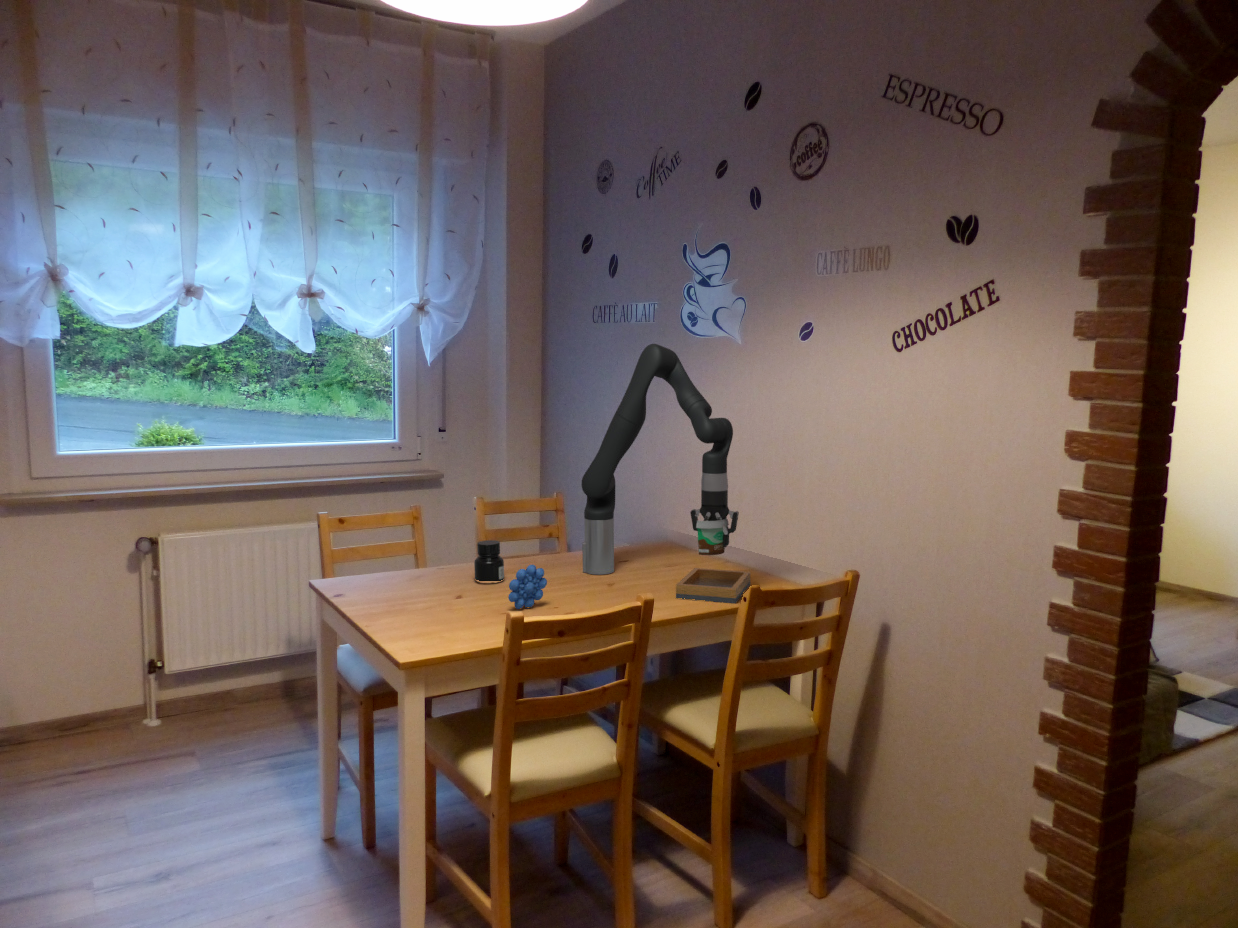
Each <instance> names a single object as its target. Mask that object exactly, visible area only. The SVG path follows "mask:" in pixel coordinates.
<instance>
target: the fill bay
mask: <svg viewBox="0 0 1238 928" xmlns="http://www.w3.org/2000/svg"><path fill="white" fill-rule="evenodd" d="M749 587H751V571H743V570H731V569H729V570H728V569H716V568H715V569H714V568H713V569H712V568H699V567H694V568H693V569H691V570H690V572H689V571H688V573H687V574H686V575H685V576H683V578H682V579H680V580H679V582H677V583H676V585H675V599H676V598H682V599H681V600H685V599H695V600H694V601H697V600H705V601H704V602H709V601H713V602H712V603H722V602H723V603H724V604H734V605H735V604H737V603H738V601H739V600H740V599H741V597H742V596H743V595H744V594H743V592H744V591H745V590H746V589H747V588H748V589H749ZM748 589H747V590H748ZM747 590H746V591H747ZM746 591H745V592H746ZM745 592H744V593H745ZM742 594H743V595H742ZM741 595H742V596H741ZM684 598H685V599H684Z"/></svg>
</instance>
